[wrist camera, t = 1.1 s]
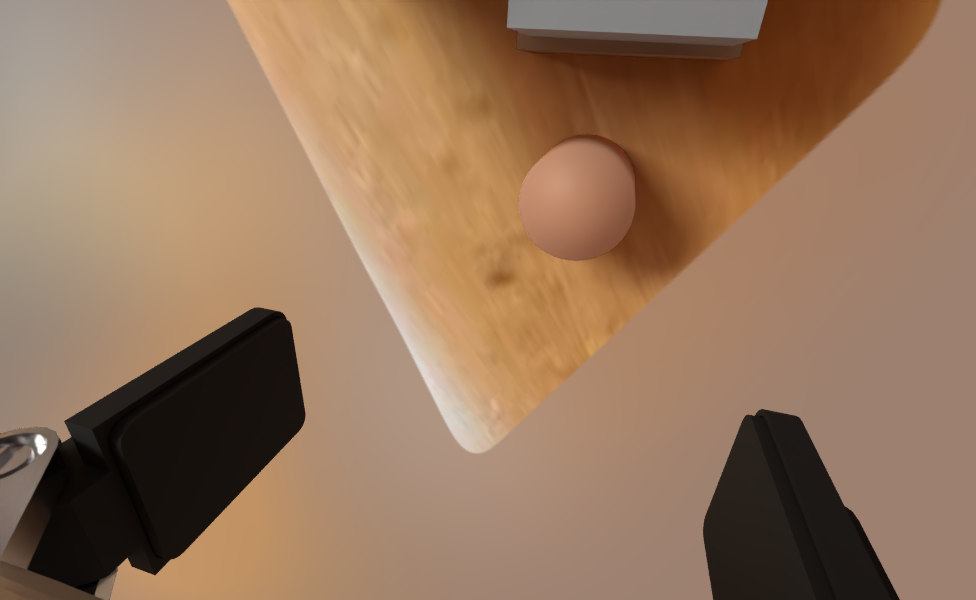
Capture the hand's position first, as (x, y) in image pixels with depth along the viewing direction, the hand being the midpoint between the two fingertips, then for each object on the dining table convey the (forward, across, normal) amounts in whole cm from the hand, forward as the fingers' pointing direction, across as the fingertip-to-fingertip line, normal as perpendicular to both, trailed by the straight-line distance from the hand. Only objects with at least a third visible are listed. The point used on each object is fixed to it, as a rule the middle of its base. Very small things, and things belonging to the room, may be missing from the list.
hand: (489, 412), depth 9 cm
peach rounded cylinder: (+22, 0, 0) cm, 22 cm away
